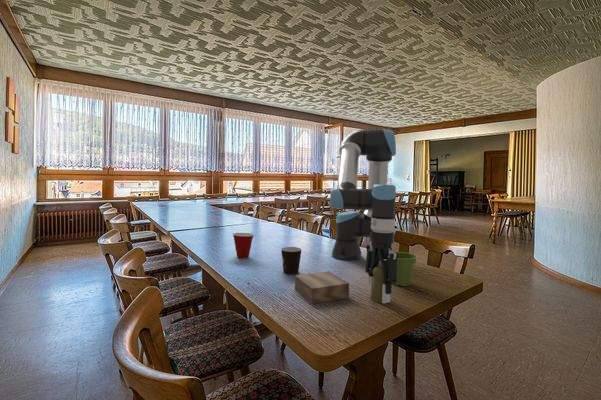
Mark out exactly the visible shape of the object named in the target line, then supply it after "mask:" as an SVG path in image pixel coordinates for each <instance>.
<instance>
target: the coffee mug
mask: <svg viewBox="0 0 601 400" xmlns="http://www.w3.org/2000/svg"><path fill="white" fill-rule="evenodd" d="M280 250H281V262H282V269H283V272H282V273H283V274H285V275H298V274H299V271H300V263H301V257H302V256H301V255H302V250H303V249H302V248H301V247H298V246H285V247H281V249H280Z"/></svg>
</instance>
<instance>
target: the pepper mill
mask: <svg viewBox="0 0 601 400" xmlns="http://www.w3.org/2000/svg"><path fill="white" fill-rule="evenodd" d="M373 275H374V281H373V287H372V292H371V296H370V301H372V302H375V303H379V304H383V303H382V288H383V283H384V282H385V281H384V275H383V268H382V266H378V267H375V268H374V269H373Z"/></svg>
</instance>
